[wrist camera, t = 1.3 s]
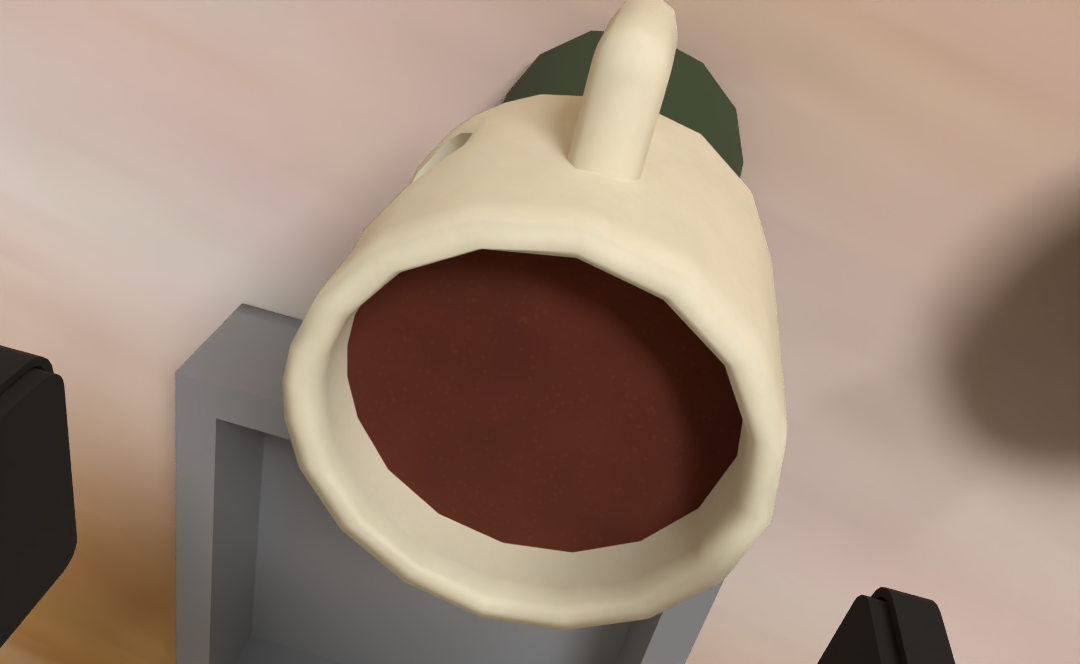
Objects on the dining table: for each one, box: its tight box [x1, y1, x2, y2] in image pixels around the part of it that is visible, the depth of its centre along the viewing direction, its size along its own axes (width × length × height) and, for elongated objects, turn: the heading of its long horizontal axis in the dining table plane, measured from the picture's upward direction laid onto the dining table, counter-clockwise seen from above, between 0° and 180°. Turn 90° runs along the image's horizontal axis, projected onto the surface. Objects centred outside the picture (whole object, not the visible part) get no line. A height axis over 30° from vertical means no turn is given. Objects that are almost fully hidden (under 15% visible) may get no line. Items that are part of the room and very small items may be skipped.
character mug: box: [282, 0, 787, 630], centre depth 18 cm, size 11×7×13 cm, turn 168°
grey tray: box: [176, 304, 724, 664], centre depth 30 cm, size 16×16×4 cm
